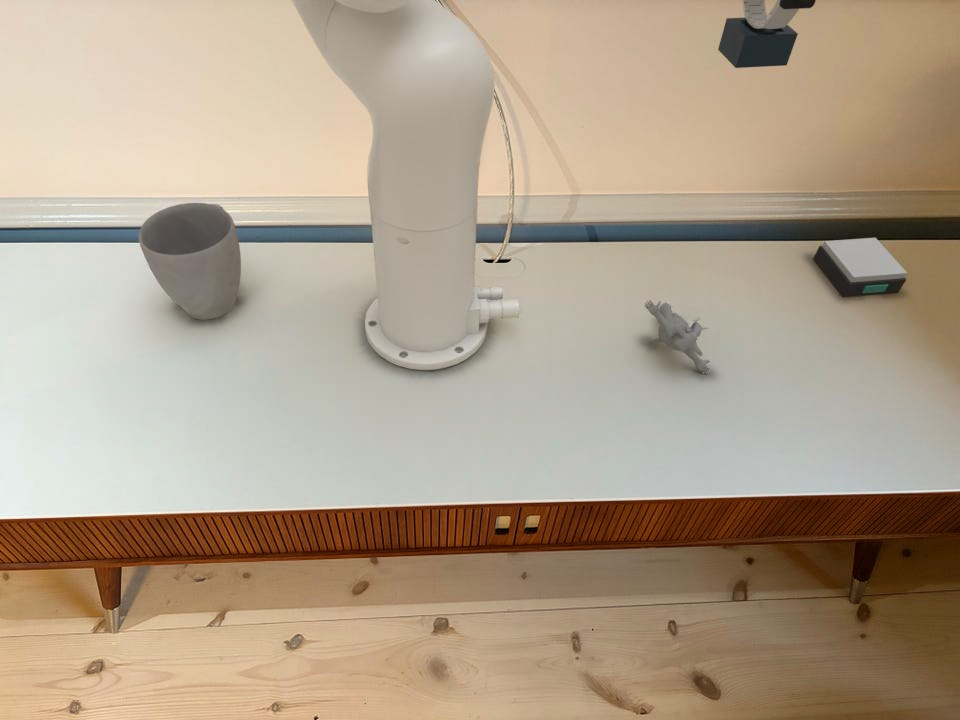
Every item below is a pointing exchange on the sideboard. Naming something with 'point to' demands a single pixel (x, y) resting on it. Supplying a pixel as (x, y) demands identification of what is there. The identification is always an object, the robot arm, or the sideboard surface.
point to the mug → (194, 257)
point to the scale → (860, 267)
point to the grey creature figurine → (678, 333)
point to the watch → (759, 36)
